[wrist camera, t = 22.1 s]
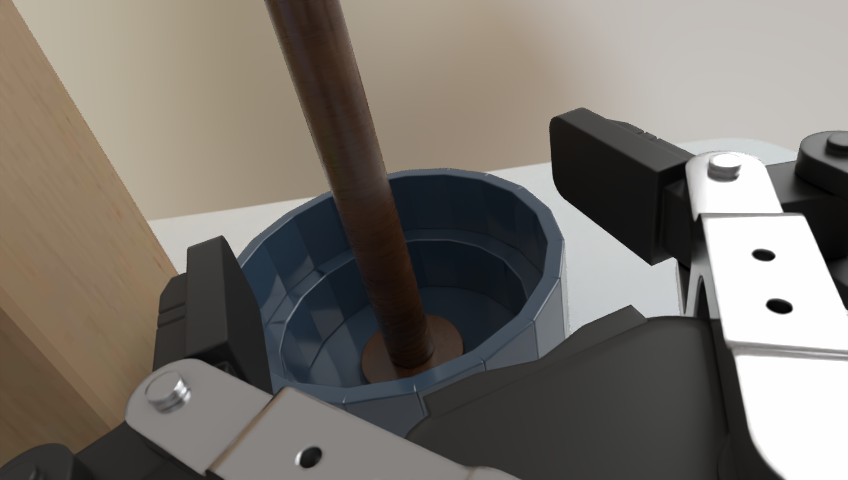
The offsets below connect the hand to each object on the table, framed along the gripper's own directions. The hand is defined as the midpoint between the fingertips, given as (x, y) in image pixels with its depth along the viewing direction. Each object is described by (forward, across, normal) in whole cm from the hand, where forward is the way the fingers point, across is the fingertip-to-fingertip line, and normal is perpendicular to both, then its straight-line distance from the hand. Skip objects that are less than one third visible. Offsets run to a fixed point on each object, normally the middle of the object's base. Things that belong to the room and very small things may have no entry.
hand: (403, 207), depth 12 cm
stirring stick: (+6, 0, +12) cm, 13 cm away
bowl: (+6, 0, +12) cm, 14 cm away
